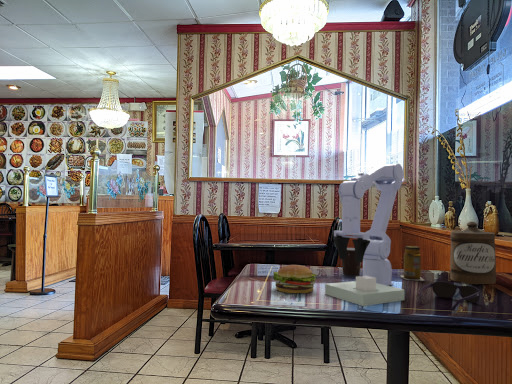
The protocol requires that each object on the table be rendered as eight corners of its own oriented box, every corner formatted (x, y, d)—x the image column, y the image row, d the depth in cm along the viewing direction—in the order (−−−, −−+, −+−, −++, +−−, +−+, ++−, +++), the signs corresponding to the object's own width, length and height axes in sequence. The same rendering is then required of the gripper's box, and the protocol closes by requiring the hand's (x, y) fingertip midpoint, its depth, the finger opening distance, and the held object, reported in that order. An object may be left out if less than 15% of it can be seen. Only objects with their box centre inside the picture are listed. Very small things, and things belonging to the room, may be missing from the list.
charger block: (366, 298, 116) (366, 275, 116) (376, 301, 112) (376, 277, 113) (355, 299, 114) (355, 276, 114) (365, 302, 110) (365, 278, 111)
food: (319, 287, 130) (319, 263, 131) (313, 296, 117) (313, 269, 117) (278, 284, 134) (278, 260, 134) (268, 293, 121) (268, 266, 121)
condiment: (419, 277, 153) (419, 246, 154) (425, 281, 145) (425, 248, 146) (400, 276, 155) (400, 245, 155) (404, 280, 146) (404, 247, 147)
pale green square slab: (364, 289, 128) (364, 280, 128) (404, 300, 114) (404, 289, 114) (325, 294, 120) (325, 284, 120) (362, 306, 106) (362, 294, 106)
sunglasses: (483, 304, 112) (483, 286, 112) (463, 314, 101) (463, 294, 101) (434, 296, 121) (434, 279, 122) (411, 304, 111) (411, 286, 111)
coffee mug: (348, 271, 163) (348, 247, 163) (366, 274, 157) (366, 249, 157) (331, 274, 155) (331, 249, 156) (349, 277, 149) (350, 251, 149)
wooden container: (454, 283, 142) (454, 221, 142) (446, 276, 156) (446, 220, 157) (501, 286, 138) (501, 222, 138) (489, 279, 152) (488, 221, 153)
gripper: (326, 217, 131) (326, 258, 131) (357, 218, 119) (357, 264, 118) (343, 217, 135) (342, 257, 134) (374, 218, 122) (374, 263, 122)
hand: (350, 260), depth 126 cm, fingers open, 7 cm apart
